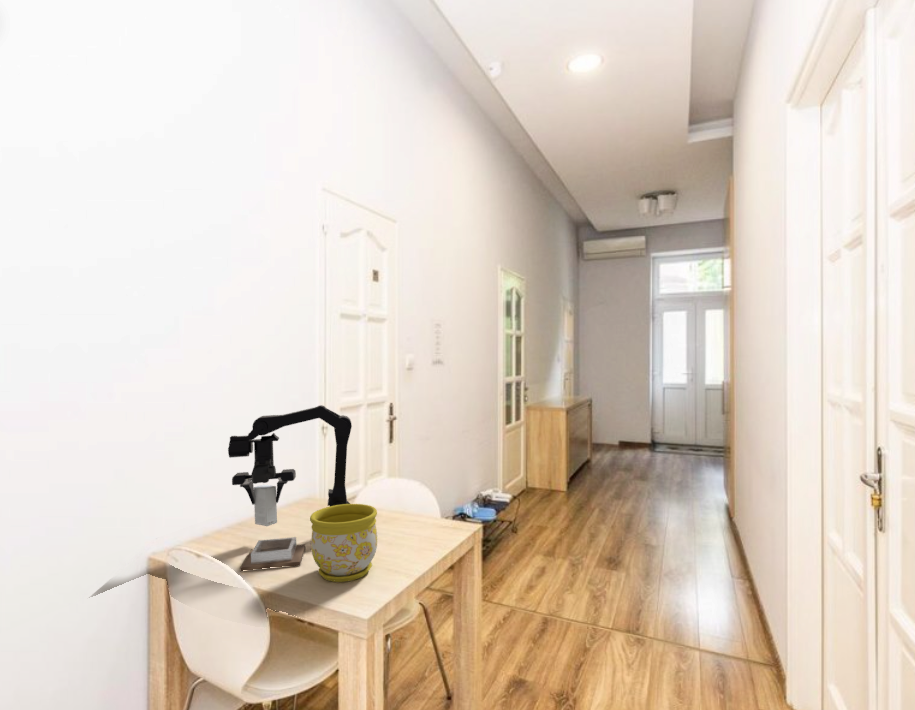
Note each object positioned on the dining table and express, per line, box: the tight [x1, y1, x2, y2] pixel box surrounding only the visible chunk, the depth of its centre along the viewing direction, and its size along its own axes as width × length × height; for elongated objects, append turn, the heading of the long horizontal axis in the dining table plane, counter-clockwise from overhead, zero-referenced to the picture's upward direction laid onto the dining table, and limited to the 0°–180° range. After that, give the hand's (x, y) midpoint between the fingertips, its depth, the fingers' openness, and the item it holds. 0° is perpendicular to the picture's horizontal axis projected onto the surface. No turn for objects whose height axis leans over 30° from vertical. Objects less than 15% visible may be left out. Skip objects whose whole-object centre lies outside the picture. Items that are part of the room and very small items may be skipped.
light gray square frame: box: [251, 536, 297, 564], centre depth 151 cm, size 11×11×3 cm
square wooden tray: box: [240, 543, 306, 572], centre depth 151 cm, size 16×14×1 cm
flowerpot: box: [309, 503, 378, 583], centre depth 140 cm, size 18×18×16 cm
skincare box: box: [253, 484, 278, 527], centre depth 165 cm, size 6×4×12 cm
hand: (265, 503), depth 165 cm, fingers closed on skincare box, 7 cm apart
